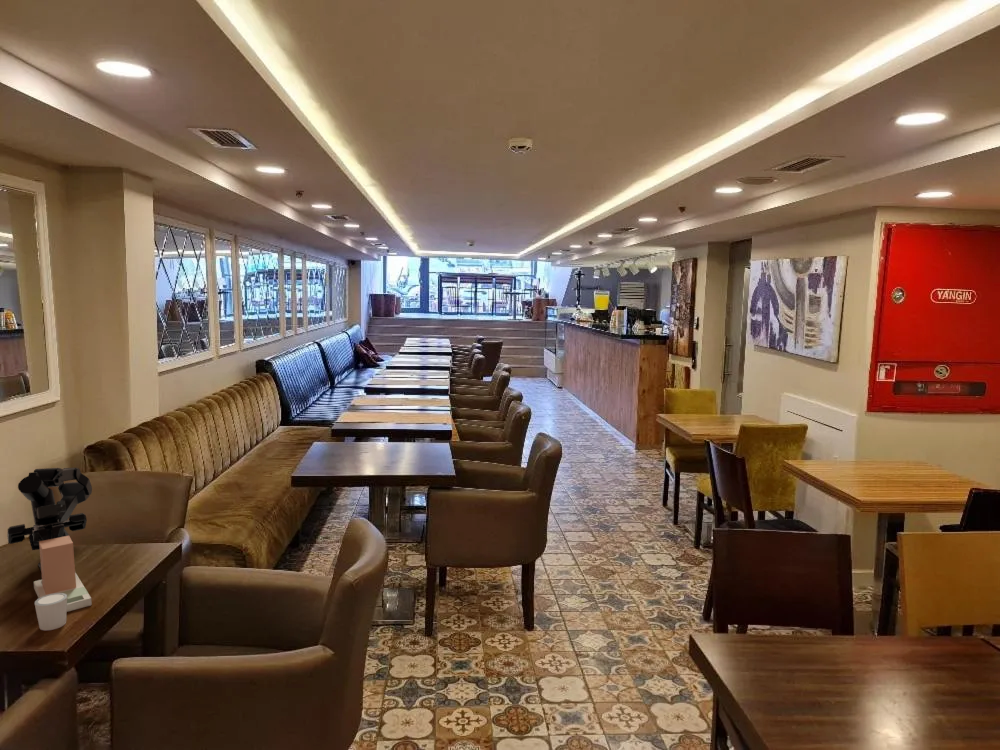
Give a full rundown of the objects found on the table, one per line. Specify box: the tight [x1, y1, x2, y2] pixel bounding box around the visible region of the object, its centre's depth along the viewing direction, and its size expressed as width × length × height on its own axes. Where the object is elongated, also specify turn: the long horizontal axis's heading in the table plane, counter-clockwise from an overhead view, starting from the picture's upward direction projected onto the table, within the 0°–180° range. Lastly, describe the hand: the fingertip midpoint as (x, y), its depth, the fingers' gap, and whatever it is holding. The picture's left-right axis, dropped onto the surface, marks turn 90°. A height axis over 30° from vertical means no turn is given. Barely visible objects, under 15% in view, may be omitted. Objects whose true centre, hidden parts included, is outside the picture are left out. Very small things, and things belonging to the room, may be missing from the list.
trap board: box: [33, 572, 93, 612], centre depth 179 cm, size 22×10×2 cm, turn 43°
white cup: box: [34, 593, 67, 631], centre depth 163 cm, size 7×7×7 cm
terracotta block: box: [39, 535, 76, 595], centre depth 179 cm, size 7×7×13 cm
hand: (52, 554), depth 184 cm, fingers closed
